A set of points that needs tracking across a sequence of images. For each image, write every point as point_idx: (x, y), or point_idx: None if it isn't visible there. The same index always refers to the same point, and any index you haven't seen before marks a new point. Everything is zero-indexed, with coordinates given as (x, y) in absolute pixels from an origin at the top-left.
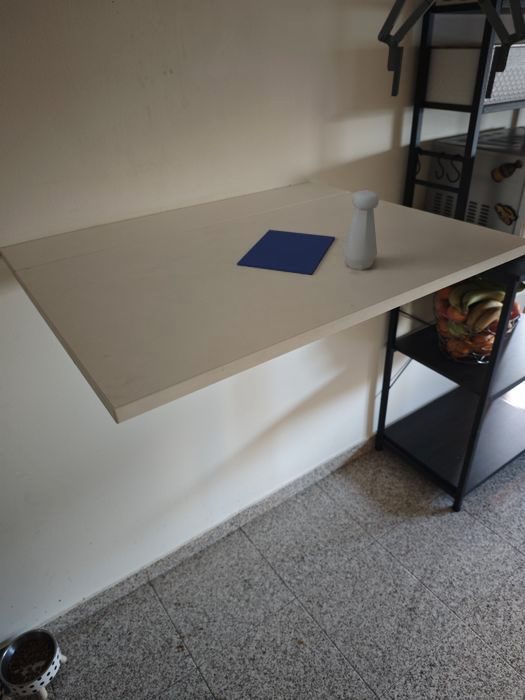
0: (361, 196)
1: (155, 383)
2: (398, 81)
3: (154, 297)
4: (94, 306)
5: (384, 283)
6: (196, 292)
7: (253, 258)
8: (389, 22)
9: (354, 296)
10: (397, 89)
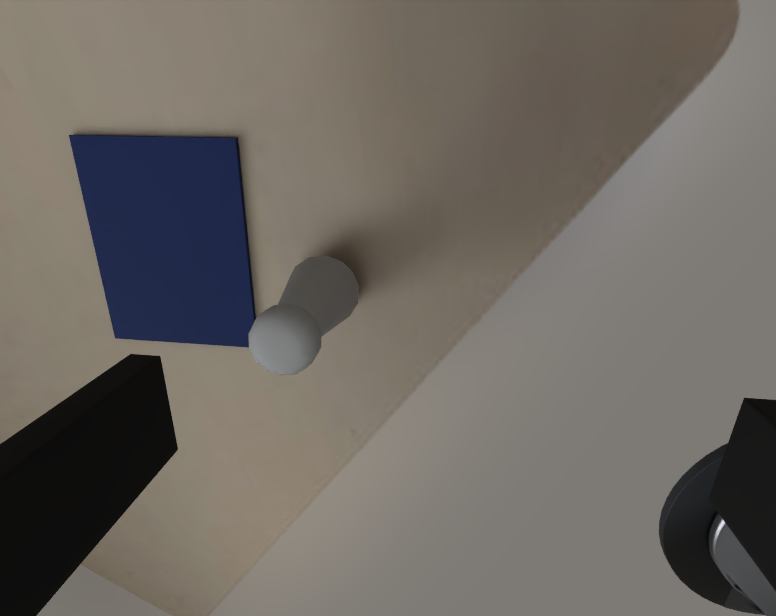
0: (274, 371)
1: (205, 600)
2: (118, 471)
3: None
4: None
5: (391, 348)
6: None
7: (130, 312)
8: None
9: (350, 404)
10: (151, 443)
